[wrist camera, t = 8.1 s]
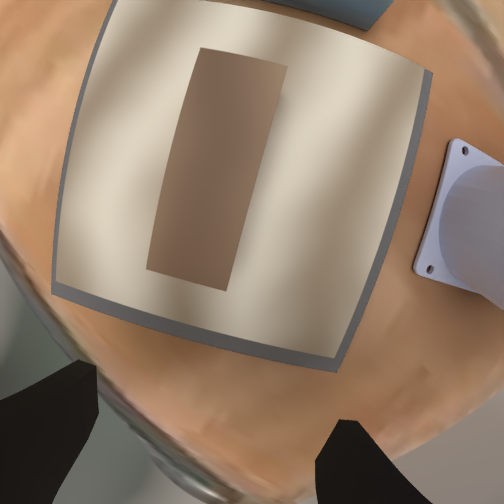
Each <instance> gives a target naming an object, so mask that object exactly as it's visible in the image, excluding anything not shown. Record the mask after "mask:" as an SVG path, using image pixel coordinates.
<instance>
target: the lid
mask: <svg viewBox="0 0 504 504" xmlns="http://www.w3.org/2000/svg"><path fill="white" fill-rule="evenodd" d="M424 69H425V68H424V67H423V66H421V65H419V64H416V63H414V62H412V61H410V60H408V59H406V58H404V57H402V56H400V55H397V54H395V53H393V52H391V51H388V50H386V49H384V48H381V47H379V46H376V45H374V44H371V43H369V42H366V41H364V40H361V39H358V38H356V37H353V36H350V35H348V34H345V33H342V32H339V31H336V30H333V29H330V28H327V27H324V26H320V25H317V24H314V23H310V22H307V21H303V20H300V19H296V18H292V17H288V16H284V15H280V14H276V13H272V12H267V11H263V10H258V9H253V8H248V7H242V6H237V5H230V4H224V3H217V2H210V1H201V0H118V1H117V4H116V6H115V8H114V11H113V13H112V15H111V18H110V20H109V23H108V25H107V28H106V30H105V33H104V35H103V38H102V41H101V44H100V46H99V49H98V52H97V55H96V58H95V61H94V64H93V67H92V70H91V73H90V76H89V79H88V83H87V86H86V90H85V93H84V97H83V100H82V104H81V108H80V112H79V115H78V120H77V124H76V128H75V132H74V137H73V141H72V146H71V151H70V156H69V162H68V167H67V173H66V179H65V185H64V192H63V199H62V207H61V215H60V224H59V235H58V247H57V263H56V281H57V282H60V283H62V284H65V285H68V286H70V287H73V288H76V289H79V290H81V291H84V292H87V293H90V294H93V295H96V296H99V297H101V298H104V299H107V300H110V301H113V302H116V303H119V304H122V305H125V306H129V307H132V308H135V309H138V310H141V311H144V312H148V313H151V314H154V315H158V316H161V317H164V318H168V319H171V320H175V321H178V322H181V323H185V324H189V325H192V326H196V327H199V328H203V329H207V330H211V331H214V332H218V333H222V334H226V335H230V336H234V337H238V338H242V339H246V340H250V341H255V342H259V343H263V344H267V345H272V346H276V347H281V348H285V349H290V350H295V351H300V352H304V353H309V354H314V355H319V356H325V357H330V358H335V355H336V353H337V351H338V349H339V346H340V344H341V342H342V340H343V337H344V335H345V333H346V330H347V328H348V326H349V323H350V321H351V318H352V316H353V313H354V311H355V309H356V306H357V304H358V301H359V299H360V296H361V293H362V291H363V288H364V286H365V283H366V280H367V278H368V275H369V272H370V270H371V267H372V264H373V261H374V258H375V256H376V253H377V250H378V247H379V244H380V241H381V238H382V235H383V232H384V229H385V226H386V223H387V220H388V217H389V213H390V210H391V207H392V204H393V200H394V197H395V194H396V190H397V187H398V183H399V180H400V176H401V172H402V169H403V165H404V161H405V157H406V154H407V150H408V146H409V141H410V137H411V133H412V129H413V124H414V120H415V115H416V111H417V106H418V101H419V96H420V91H421V86H422V80H423V75H424Z"/></svg>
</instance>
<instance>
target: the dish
mask: <svg viewBox="0 0 504 504" xmlns="http://www.w3.org/2000/svg"><path fill="white" fill-rule="evenodd" d="M263 1H268V2H272V3H277V4H281V5H285V6H289V7H293V8H297V9H301V10H304V11H308V12H312V13H315V14H318V15H322V16H325V17H328V18H331V19H334V20H337V21H340V22H343V23H346V24H349V25H352V26H354V27H357V28H360V29H362V30H365V31H368V30H369V29H370V28H371V26H372V25H373V24H374V23H375V22H376V21H377V20H378V18H379V17H380V16H381V15H382V14H383V13H384V12H385V11H386V9H387V8H388V7H389V6H390V5H391V4H392V3H393V2H394V0H263Z"/></svg>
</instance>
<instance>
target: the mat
mask: <svg viewBox="0 0 504 504" xmlns="http://www.w3.org/2000/svg"><path fill="white" fill-rule="evenodd" d="M117 1H118V0H113V1H112V4H111V6H110V8H109V10H108V13H107V15H106V18H105V20H104V22H103V25H102V27H101V30H100V33H99V35H98V38H97V41H96V43H95V46H94V49H93V52H92V55H91V57H90V60H89V63H88V67H87V70H86V73H85V76H84V79H83V83H82V86H81V89H80V93H79V96H78V100H77V104H76V108H75V112H74V116H73V120H72V124H71V128H70V133H69V137H68V142H67V147H66V152H65V157H64V162H63V168H62V174H61V180H60V187H59V194H58V201H57V210H56V219H55V229H54V241H53V256H52V282H51V294H53V295H56V296H58V297H61V298H63V299H66V300H69V301H71V302H74V303H76V304H79V305H82V306H85V307H87V308H90V309H93V310H96V311H98V312H101V313H104V314H107V315H110V316H113V317H116V318H119V319H122V320H125V321H128V322H131V323H134V324H137V325H140V326H143V327H147V328H150V329H153V330H156V331H160V332H163V333H166V334H170V335H173V336H177V337H180V338H184V339H187V340H191V341H194V342H198V343H202V344H206V345H209V346H213V347H217V348H221V349H225V350H229V351H233V352H237V353H241V354H246V355H250V356H254V357H259V358H263V359H268V360H272V361H277V362H282V363H286V364H291V365H296V366H302V367H307V368H312V369H318V370H323V371H329V372H335V373H337V371H338V369H339V367H340V365H341V363H342V361H343V359H344V357H345V354H346V352H347V350H348V348H349V346H350V343H351V341H352V339H353V337H354V334H355V332H356V330H357V327H358V325H359V323H360V320H361V318H362V316H363V313H364V311H365V308H366V306H367V303H368V301H369V298H370V296H371V293H372V291H373V288H374V286H375V283H376V280H377V278H378V275H379V272H380V270H381V267H382V264H383V262H384V259H385V256H386V253H387V250H388V247H389V244H390V242H391V239H392V236H393V233H394V230H395V226H396V223H397V220H398V217H399V214H400V211H401V207H402V204H403V201H404V197H405V194H406V191H407V187H408V183H409V180H410V176H411V173H412V169H413V165H414V161H415V157H416V153H417V149H418V145H419V141H420V137H421V132H422V128H423V123H424V119H425V114H426V109H427V104H428V99H429V93H430V88H431V82H432V76H433V73H432V72H430V71H428V70H426V69H424V75H423V80H422V86H421V91H420V96H419V101H418V106H417V111H416V115H415V120H414V124H413V129H412V133H411V137H410V141H409V146H408V150H407V154H406V157H405V161H404V165H403V169H402V172H401V176H400V180H399V183H398V187H397V190H396V194H395V197H394V200H393V204H392V207H391V210H390V213H389V217H388V220H387V223H386V226H385V229H384V232H383V235H382V238H381V241H380V244H379V247H378V250H377V253H376V256H375V258H374V261H373V264H372V267H371V270H370V272H369V275H368V278H367V280H366V283H365V286H364V288H363V291H362V293H361V296H360V299H359V301H358V304H357V306H356V309H355V311H354V313H353V316H352V318H351V321H350V323H349V326H348V328H347V330H346V333H345V335H344V337H343V340H342V342H341V344H340V346H339V349H338V351H337V353H336V355H335V358H330V357H325V356H319V355H314V354H309V353H304V352H300V351H295V350H290V349H285V348H281V347H276V346H272V345H267V344H263V343H259V342H255V341H250V340H246V339H242V338H238V337H234V336H230V335H226V334H222V333H218V332H214V331H211V330H207V329H203V328H199V327H196V326H192V325H189V324H185V323H181V322H178V321H175V320H171V319H168V318H164V317H161V316H158V315H154V314H151V313H148V312H144V311H141V310H138V309H135V308H132V307H129V306H125V305H122V304H119V303H116V302H113V301H110V300H107V299H104V298H101V297H99V296H96V295H93V294H90V293H87V292H84V291H81V290H79V289H76V288H73V287H70V286H68V285H65V284H62V283H60V282H57V281H56V263H57V247H58V235H59V224H60V215H61V207H62V199H63V192H64V185H65V179H66V173H67V167H68V162H69V156H70V151H71V146H72V141H73V137H74V132H75V128H76V124H77V120H78V115H79V112H80V108H81V104H82V100H83V97H84V93H85V90H86V86H87V83H88V79H89V76H90V73H91V70H92V67H93V64H94V61H95V58H96V55H97V52H98V49H99V46H100V44H101V41H102V38H103V35H104V33H105V30H106V28H107V25H108V23H109V20H110V18H111V15H112V13H113V11H114V8H115V6H116V4H117Z"/></svg>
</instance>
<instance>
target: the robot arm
mask: <svg viewBox="0 0 504 504" xmlns="http://www.w3.org/2000/svg"><path fill="white" fill-rule="evenodd" d="M462 148H464V149H465V154H463V153H462ZM429 265H431V269H430V270H429V271H428V272H426V269H427V267H428V266H429ZM413 269H414V271H415V273H416V274H418V275H420V276H423V277H426V278H429V279H433V280H436V281H439V282H443V283H446V284H449V285H452V286H456V287H459V288H462V289H465V290H469V291H472V292H475V293H478V294H481V295H482V296H483V297H485V298H486V299H488V300H489V301H491V302H492V303H493V304H495V305H496V306H498V307H499V308H500V309H502V310H503V311H504V165H503V164H501V163H500V162H498V161H497V160H495V159H493V158H492V157H490V156H488V155H487V154H485V153H483V152H482V151H480V150H478V149H477V148H475V147H473V146H471V145H470V144H468V143H466V142H464V141H463V140H461V139H458V138H456V139H452V140H451V141H450V143H449V146H448V150H447V155H446V159H445V163H444V167H443V171H442V175H441V179H440V183H439V186H438V190H437V194H436V197H435V201H434V204H433V207H432V211H431V214H430V217H429V220H428V224H427V227H426V230H425V233H424V236H423V239H422V242H421V245H420V248H419V250H418V253H417V256H416V259H415V262H414V265H413ZM98 414H99V409H98V395H97V373H96V366H95V365H92V364H89V363H86V362H84V361H81V360H79V359H78V360H77V361H75V362H73V363H71V364H69V365H67V366H66V367H64V368H62V369H60V370H59V371H57V372H55V373H53V374H51V375H50V376H48V377H46V378H44V379H42V380H41V381H39V382H37V383H35V384H33V385H31V386H29V387H27V388H26V389H24V390H22V391H20V392H18V393H15V394H13V395H11V396H9V397H7V398H5V399H2V400H0V504H52V502H53V500H54V498H55V496H56V494H57V492H58V490H59V488H60V486H61V484H62V483H63V481H64V479H65V477H66V476H67V474H68V472H69V471H70V469H71V467H72V466H73V464H74V462H75V460H76V459H77V457H78V455H79V454H80V452H81V450H82V449H83V447H84V445H85V443H86V442H87V440H88V438H89V436H90V433H91V431H92V428H93V426H94V424H95V421H96V419H97V417H98ZM315 483H316V494H317V500H318V504H432V503H431V502H430V501H429V500H428V499H426V498H425V497H424V496H423V495H422V494H421V493H420V492H419V491H418V490H417V489H416V488H415V487H414V486H413V485H412V484H411V483H410V482H409V481H408V480H407V479H406V478H405V477H404V476H403V475H402V474H401V473H400V471H399V470H398V469H397V468H396V467H395V466H394V465H393V463H392V462H391V461H390V460H389V458H388V457H387V456H386V455H385V454H384V452H383V451H382V450H381V449H380V448H379V446H378V445H377V444H376V443H375V441H374V440H373V439H372V438H371V437H370V435H369V434H368V433H367V432H366V430H365V429H364V428H363V427H362V426H361V425H360V423H359V422H358V421H353V420H340V419H339V420H338V422H337V424H336V426H335V428H334V429H333V431H332V433H331V435H330V436H329V438H328V440H327V442H326V443H325V445H324V447H323V448H322V450H321V452H320V453H319V455H318V456H317V458H316V460H315Z"/></svg>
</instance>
